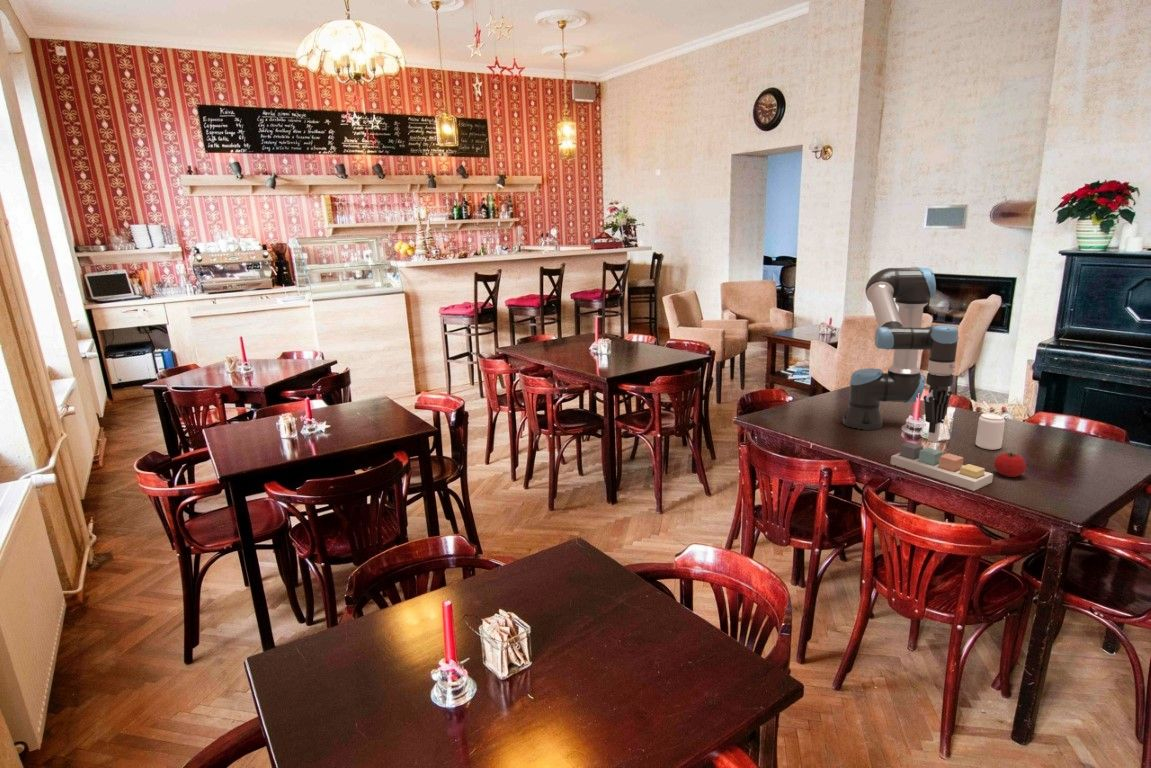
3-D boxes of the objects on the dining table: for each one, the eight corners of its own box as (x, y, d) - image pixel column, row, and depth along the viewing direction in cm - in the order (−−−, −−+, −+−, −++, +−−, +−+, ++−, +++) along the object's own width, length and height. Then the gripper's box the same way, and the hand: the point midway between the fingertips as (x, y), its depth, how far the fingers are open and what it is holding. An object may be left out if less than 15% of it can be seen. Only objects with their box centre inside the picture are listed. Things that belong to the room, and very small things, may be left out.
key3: (938, 468, 210) (939, 456, 209) (946, 465, 212) (948, 453, 211) (953, 473, 206) (955, 460, 205) (961, 469, 208) (963, 457, 207)
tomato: (1013, 482, 203) (1016, 459, 201) (986, 472, 211) (989, 450, 209) (1030, 477, 207) (1034, 454, 205) (1003, 468, 214) (1006, 446, 212)
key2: (918, 462, 215) (919, 450, 214) (926, 459, 218) (928, 447, 217) (933, 467, 211) (934, 454, 210) (941, 463, 214) (942, 451, 213)
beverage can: (993, 443, 237) (998, 412, 234) (1005, 450, 230) (1010, 419, 227) (971, 443, 238) (975, 412, 235) (982, 450, 230) (986, 419, 227)
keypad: (890, 463, 221) (891, 455, 220) (908, 457, 227) (909, 449, 226) (973, 490, 198) (975, 482, 197) (991, 482, 204) (993, 473, 203)
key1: (899, 456, 221) (900, 445, 220) (907, 453, 224) (909, 442, 222) (913, 461, 217) (914, 449, 216) (921, 457, 219) (923, 446, 218)
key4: (958, 479, 205) (960, 467, 203) (967, 476, 207) (968, 463, 206) (974, 485, 200) (976, 472, 199) (983, 481, 203) (984, 468, 202)
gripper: (940, 378, 200) (932, 448, 206) (962, 372, 207) (954, 440, 212) (917, 374, 206) (910, 442, 212) (939, 368, 213) (932, 434, 219)
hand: (932, 441), depth 212 cm, fingers closed
